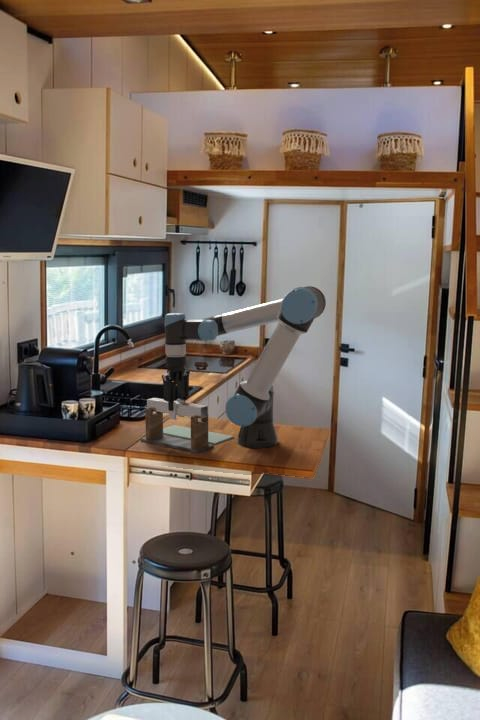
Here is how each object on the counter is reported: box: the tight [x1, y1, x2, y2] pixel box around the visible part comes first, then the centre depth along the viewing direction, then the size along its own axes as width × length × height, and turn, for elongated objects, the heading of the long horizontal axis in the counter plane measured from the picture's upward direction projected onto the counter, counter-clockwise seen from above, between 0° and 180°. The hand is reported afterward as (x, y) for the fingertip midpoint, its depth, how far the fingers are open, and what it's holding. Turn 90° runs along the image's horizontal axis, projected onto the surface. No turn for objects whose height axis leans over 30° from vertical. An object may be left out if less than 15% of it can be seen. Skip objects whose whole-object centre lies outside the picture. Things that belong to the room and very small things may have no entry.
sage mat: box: [163, 424, 235, 445], centre depth 272 cm, size 30×12×1 cm, turn 55°
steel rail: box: [146, 397, 209, 420], centre depth 257 cm, size 26×4×4 cm, turn 55°
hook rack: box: [140, 407, 215, 454], centre depth 258 cm, size 28×9×12 cm, turn 55°
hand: (176, 417), depth 258 cm, fingers closed on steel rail, 4 cm apart
